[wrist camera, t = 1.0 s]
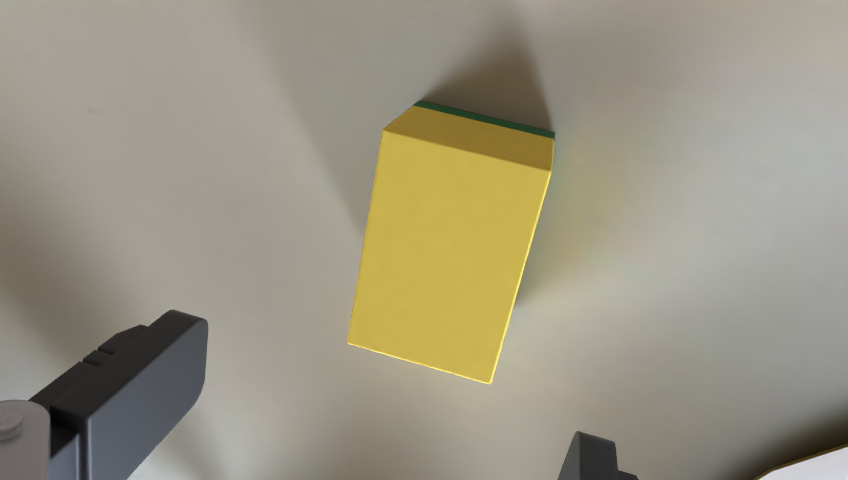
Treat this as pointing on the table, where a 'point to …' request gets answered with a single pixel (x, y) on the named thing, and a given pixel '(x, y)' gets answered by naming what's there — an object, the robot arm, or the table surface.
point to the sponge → (448, 237)
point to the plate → (813, 467)
